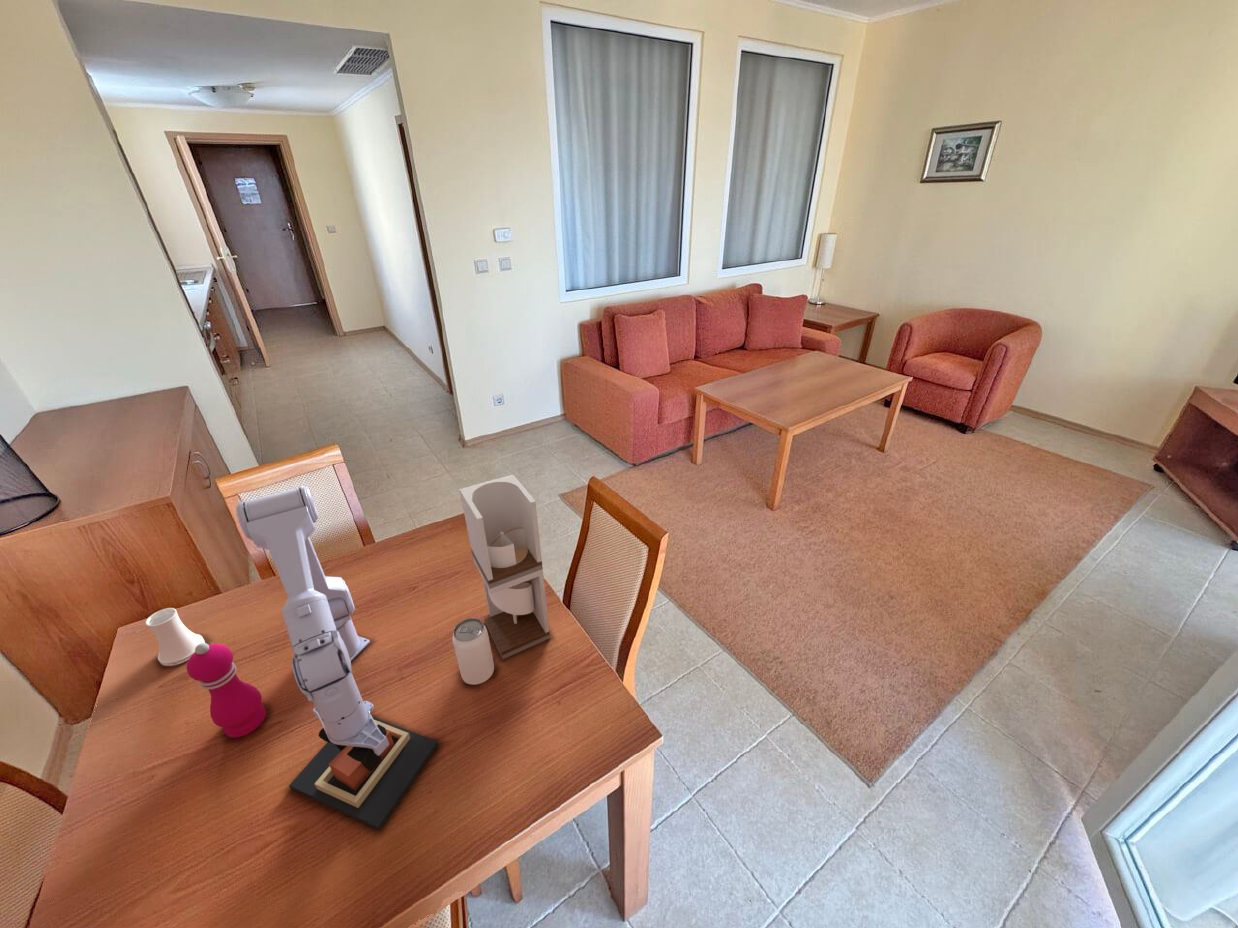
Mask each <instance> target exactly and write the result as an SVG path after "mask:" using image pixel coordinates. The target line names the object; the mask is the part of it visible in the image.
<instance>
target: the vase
mask: <svg viewBox="0 0 1238 928" xmlns="http://www.w3.org/2000/svg"><path fill="white" fill-rule="evenodd" d="M145 625H146V626H147V627H148V629H150V630H151V632H152V633H153V634H154V637H155V638H156V640H157V643H158V648H159V651H158V654H157V661H159V663H160V665H162V666H165V667H173V666H178V665H180V664H183V663H185V662H188V660H189V658H190V657H191V656H192V655H193V654H194V653H195V648H196V646H197V645H199V644H201V643H206V641H205V639H204V637H203V635H202V634H199V633H195V632H193V631H192V630H190V629H189V628H188V627H187V626H185V624H184V623H183V621H182V620H181V619H180V617H179V614H178V611H177V609H176V608H174V607H167V608H163V609H160V610H157V611H156V612H154V613H152V614H151V615H149V616H148V618H146V620H145Z"/></svg>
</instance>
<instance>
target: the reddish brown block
mask: <svg viewBox="0 0 1238 928" xmlns="http://www.w3.org/2000/svg"><path fill="white" fill-rule="evenodd" d="M386 737H387V740H388V742H389V745H388V747H387V748H386V749H385V750H384V751H383V752H382V753H381V761H380V762H379V763H378V764H377V765H376V766H375V767H374V769H373V770H372V771H370V770H368V769H367V768H365V767H364V766H363V764H362V763H361V762H359V761H356V760H354V759H353V758H351V757H350V756H348V755H347V753H348V752H349V751H350V750H351V749H352V748H353V747H354V746H346V747H345V748H344V749H343V750H342V751H341V752H340V753H339V754H338V755H337V756H336V757H335V758H334V759H333V760H332V761H331V762H330V763H329V766H330V768H331V770H332V772H333V774H334V776H335V778H336V779H338V780H339V781H341V782H342V783H343V784H345V785H346V786H348V787H349V788H351V789H352V790H354V791H356V790H357V788H358V787H359V786H360V785H361V784H362V783H363V782H364V781H365V780H366V778H367V777H368V776H369V775H370V774H371V773H372V772H373V771H374V770H375V768H376V767H377V766H378V765H379V764H380V763H381V762H382V761H383V760H384V758H385V757H386V756H387V755H388V753H389V752H390V751H391V749H392V748H393V747H394V746H395V745H394V743H393V740H392V738H391V735H390V733H389V732H388V731H387V734H386Z"/></svg>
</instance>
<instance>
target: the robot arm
mask: <svg viewBox="0 0 1238 928" xmlns="http://www.w3.org/2000/svg"><path fill="white" fill-rule="evenodd" d="M235 512H236V517H237V520H238V523H239V526H240V528H241V531H242V532H243V535H244V536H245V538H246V539H248V540H251V541H252V542H253V544H254V545H255V546H256V547H257V548H259V549H263V550H266V551H269V554H270V556H271V559H272V561H273V564H274V566H275V569H276V571H277V574H278V576H279V578H280V579H279V580H280V581H281V584H282V586H283V588H284V591H285V593H286V596H287V598H286V599H287V600H286V601H285V603H284V605H283V607H282V608H281V614H282V618H283V621H284V624H285V627H286V632H287V636H288V639H289V642H290V646H291V650H292V653H293V656H294V657H292V659H291V668H292V669H291V670H292V673H293V676H294V679H295V682H296V685H297V686H298V688H299V690H300V691H301V693H302V694H303V695H304V696H305V697H306V699H307V700H308V702H312V704H313V706H314V708H313V709H312V713H313V714H314V716H315V718H316V719H317V720H319V721H320V724H321V726H322V728H321V729H320V730H319V732H318V738H319V739H321V740H323V741H324V742H326V743H327V742H330V743H333V744H334V745H335V746H336V747H337V748H338V749H339V750H340V751H342V750H343V749H344V748H345V747H346V746H354V747H353V748H352V749H351V750H350V751H349V752H348V753H347V755H348V756H350V757H351V758H353V759H354V760H356V761H359V762H361V763H362V764H363V766H364V767H365V768H367V769H368V770H370V771H372V770H373V769H374V767H375V766H376V765H377V764H378V763H379V762H380V761H381V753H382V752H383V751H384V750H385V749H386V748H387V747H388V745H389V742H388V740H387V737H386V734H387V731H386V729H385V728H384V727H383V726H381V725H379V724H378V725H376V723H375V721H374V720H373V718H372V715H371V712H372V711H373V709H374V703H372V702H370V701H368V700H363V697H362V694H361V692H360V690H359V687H358V685H357V683H356V680H355V678H354V675H353V671H352V670H353V669H352V661H353V660H354V659H355V658H356V657H357V656H358V655H359V654H360V653H361V652H362V651H363V650H364V649H365V648H366V647H367V646H368V645H369V644H370V643H371V640H370V639H368V638H365V637H362V636H359V635H358V633H357V630H356V627H355V624H354V622H353V620H352V617H351V615H353V614H354V612H355V611H356V608H355V604H354V601H353V597H352V595H351V591H350V589H349V587H348V585H347V584H346V581H345V580H344V579H343V578H342V577H340V576H329V575H327V576H326V575H325V572H324V570H323V567H322V565H321V562H320V560H319V558H318V555H317V552H316V549H315V547H314V545H313V543H312V540H311V537H310V536H311V535H312V534H313V533H314V532H315V531H316V526H315V523H317V521H318V519H319V513H318V510H317V507H316V504H315V500H314V498H313V495H312V492H311V490H310V488H309V487H307V486H306V485H304V484H303V485H300V487H296V488H291V489H288V490H284V491H279V492H276V493H272V494H269V495H265V496H261V497H258V498H252V499H249V500H246V501H244V500H242V501H239V502H238V504H237V506H236V508H235Z"/></svg>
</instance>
